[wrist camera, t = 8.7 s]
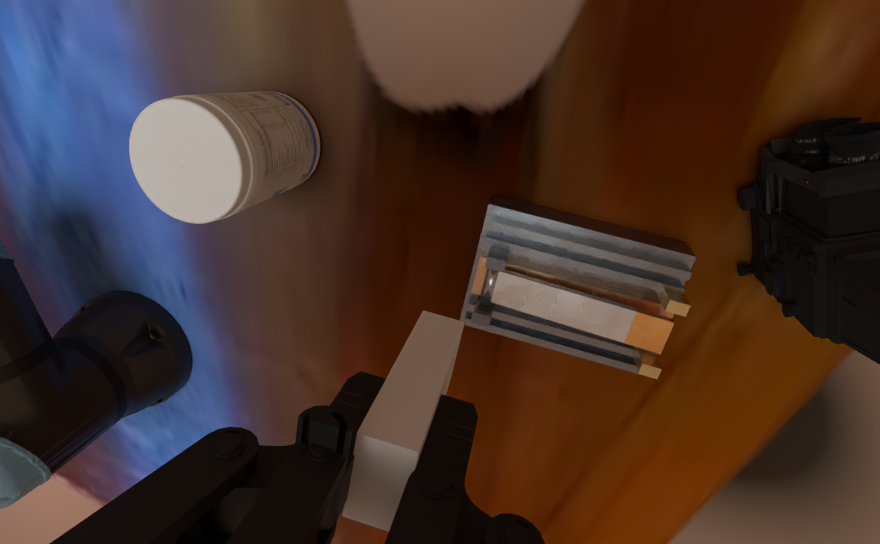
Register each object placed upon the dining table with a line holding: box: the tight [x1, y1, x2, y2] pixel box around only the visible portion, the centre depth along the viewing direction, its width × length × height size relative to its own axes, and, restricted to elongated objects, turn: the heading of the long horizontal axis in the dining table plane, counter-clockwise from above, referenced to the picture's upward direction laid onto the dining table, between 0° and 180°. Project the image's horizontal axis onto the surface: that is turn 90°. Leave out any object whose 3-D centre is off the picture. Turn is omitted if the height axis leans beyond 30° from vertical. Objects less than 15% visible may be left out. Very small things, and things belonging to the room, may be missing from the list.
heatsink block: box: [460, 194, 696, 379], centre depth 46 cm, size 18×12×9 cm, turn 78°
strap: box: [479, 268, 674, 354], centre depth 43 cm, size 16×4×1 cm, turn 78°
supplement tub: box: [129, 91, 320, 224], centre depth 44 cm, size 10×10×15 cm
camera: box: [738, 118, 880, 364], centre depth 34 cm, size 10×14×20 cm
